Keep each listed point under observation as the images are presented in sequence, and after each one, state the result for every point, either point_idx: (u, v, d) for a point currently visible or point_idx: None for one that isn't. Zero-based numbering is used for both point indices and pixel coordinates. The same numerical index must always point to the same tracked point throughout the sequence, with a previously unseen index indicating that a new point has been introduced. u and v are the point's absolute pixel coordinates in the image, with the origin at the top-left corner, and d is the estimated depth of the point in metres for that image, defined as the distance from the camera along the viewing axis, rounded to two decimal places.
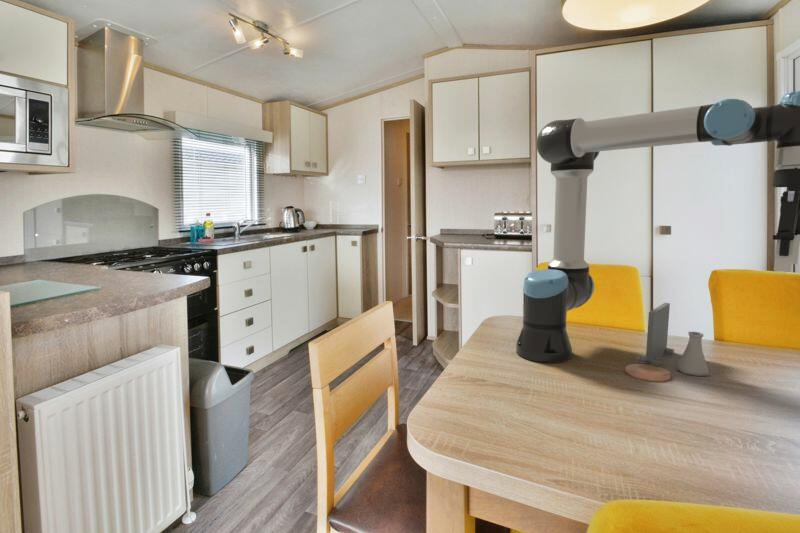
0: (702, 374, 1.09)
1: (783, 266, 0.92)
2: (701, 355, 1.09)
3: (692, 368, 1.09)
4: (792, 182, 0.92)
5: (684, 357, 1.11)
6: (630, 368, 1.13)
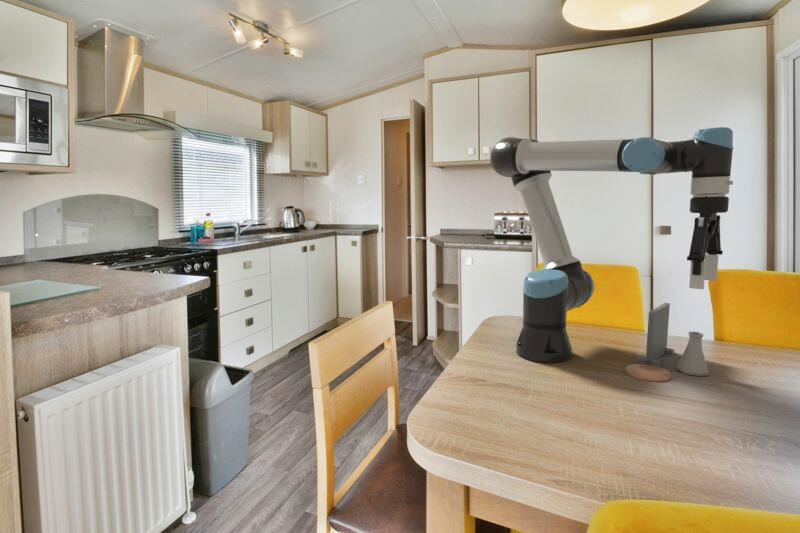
0: (702, 374, 1.09)
1: (697, 284, 1.03)
2: (701, 355, 1.09)
3: (692, 368, 1.09)
4: (703, 209, 1.03)
5: (684, 357, 1.11)
6: (630, 368, 1.13)
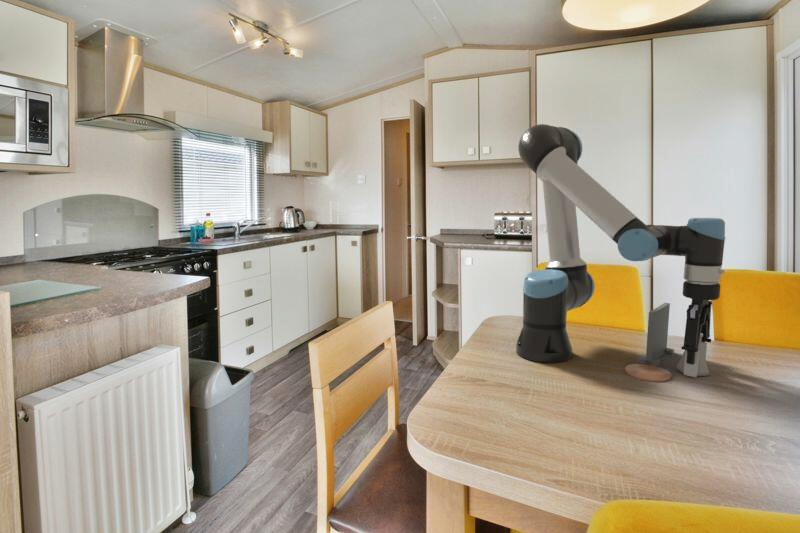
0: (702, 374, 1.08)
1: (690, 372, 1.08)
2: (700, 355, 1.09)
3: None
4: (695, 296, 1.06)
5: (684, 357, 1.11)
6: (630, 368, 1.13)
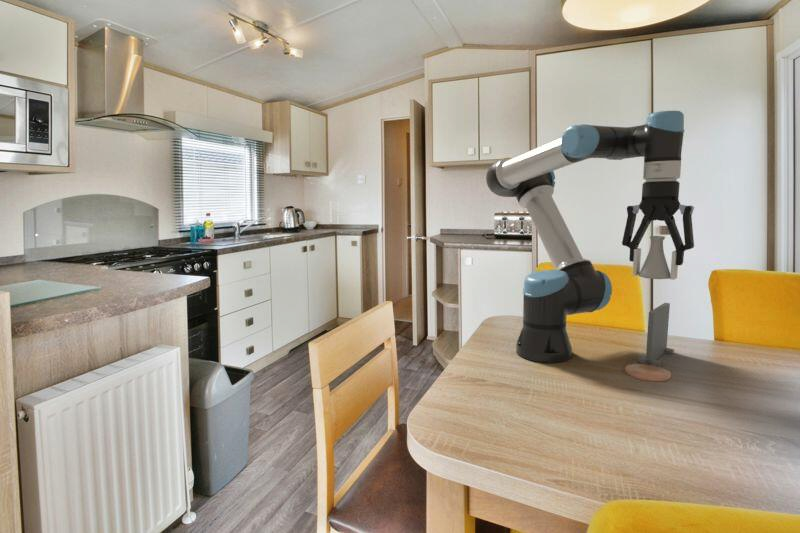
0: (641, 275, 1.07)
1: None
2: (649, 258, 1.06)
3: None
4: None
5: None
6: (630, 368, 1.13)
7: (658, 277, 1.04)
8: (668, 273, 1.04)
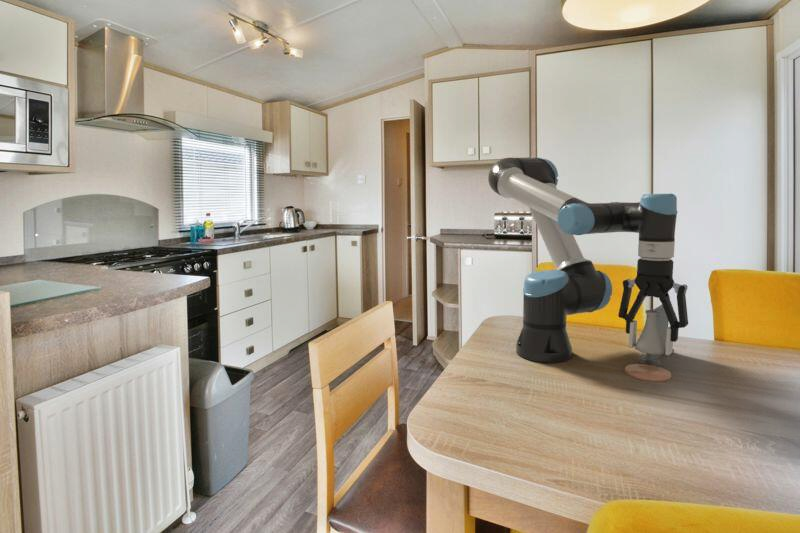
0: (637, 348, 1.10)
1: None
2: (644, 332, 1.09)
3: (637, 341, 1.12)
4: None
5: None
6: (630, 368, 1.13)
7: (654, 352, 1.07)
8: (663, 348, 1.07)
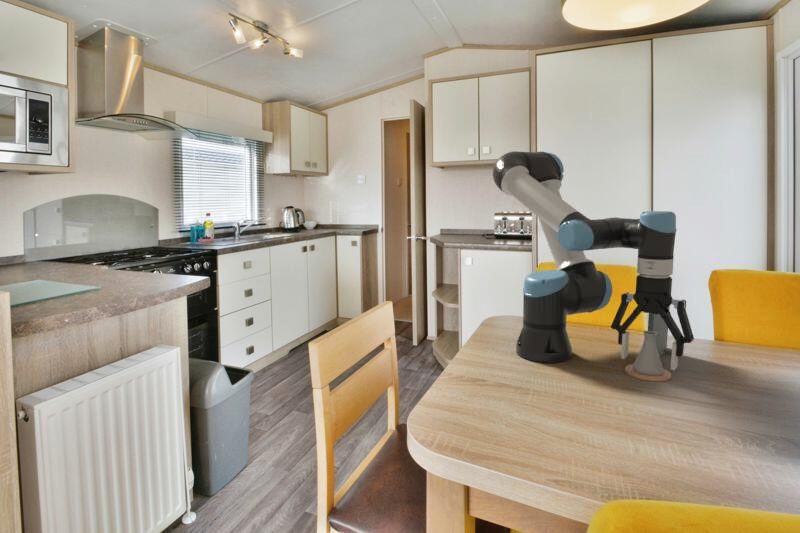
0: (634, 369, 1.11)
1: None
2: (642, 353, 1.10)
3: (635, 361, 1.13)
4: None
5: None
6: (630, 368, 1.13)
7: (651, 373, 1.08)
8: (661, 369, 1.08)
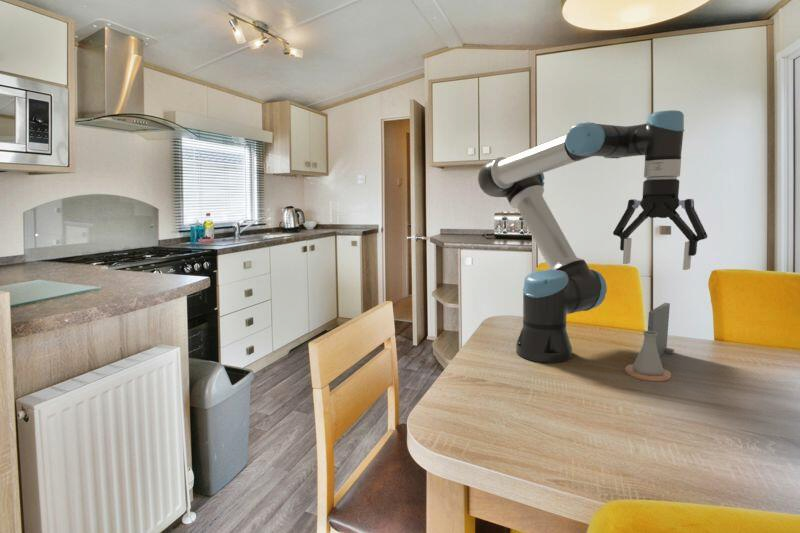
0: (634, 369, 1.11)
1: None
2: (642, 352, 1.10)
3: (635, 361, 1.13)
4: None
5: None
6: (630, 368, 1.13)
7: (651, 373, 1.08)
8: (661, 369, 1.08)
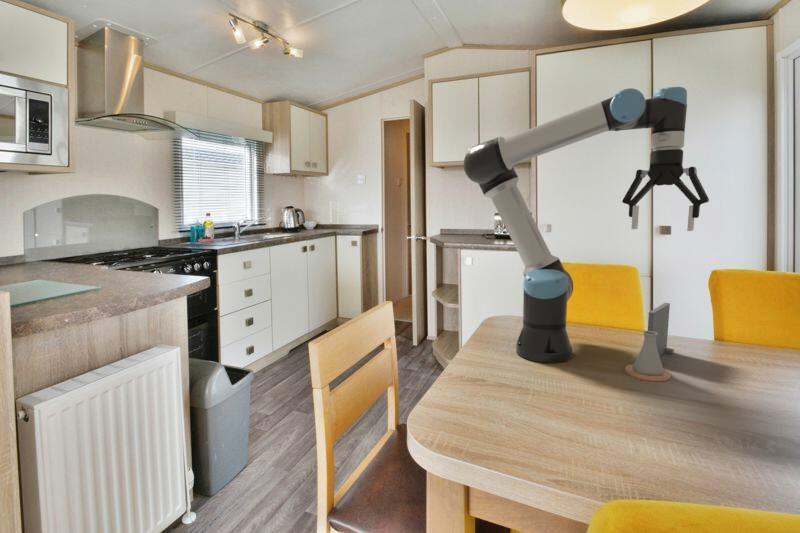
0: (634, 369, 1.11)
1: None
2: (642, 353, 1.10)
3: (635, 361, 1.13)
4: None
5: None
6: (630, 368, 1.13)
7: (651, 373, 1.08)
8: (661, 369, 1.08)
